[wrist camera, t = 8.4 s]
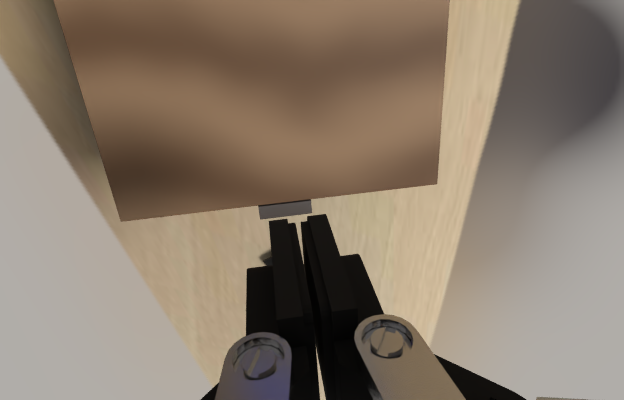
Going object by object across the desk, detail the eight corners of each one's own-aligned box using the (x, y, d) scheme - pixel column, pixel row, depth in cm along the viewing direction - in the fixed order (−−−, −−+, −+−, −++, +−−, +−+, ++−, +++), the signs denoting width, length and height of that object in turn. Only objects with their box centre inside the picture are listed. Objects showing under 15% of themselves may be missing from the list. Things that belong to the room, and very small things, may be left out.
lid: (33, -133, 17) (7, -150, 15) (440, -150, 19) (461, -167, 17) (134, 219, 24) (125, 235, 22) (423, 185, 26) (436, 197, 24)
